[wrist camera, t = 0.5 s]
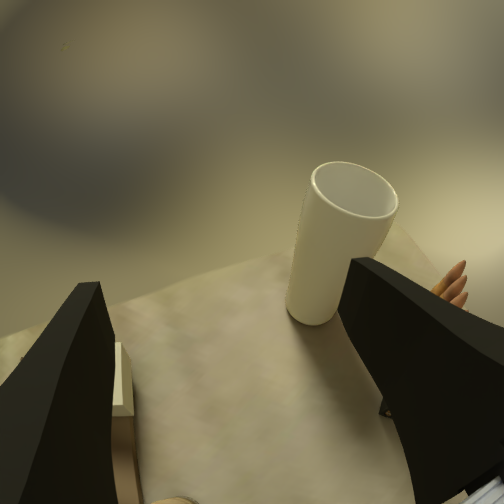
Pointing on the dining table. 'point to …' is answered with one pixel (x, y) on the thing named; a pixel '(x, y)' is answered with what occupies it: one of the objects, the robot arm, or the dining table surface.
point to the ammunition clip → (449, 292)
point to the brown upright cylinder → (177, 501)
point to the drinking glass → (336, 235)
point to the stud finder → (122, 383)
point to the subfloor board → (125, 460)
